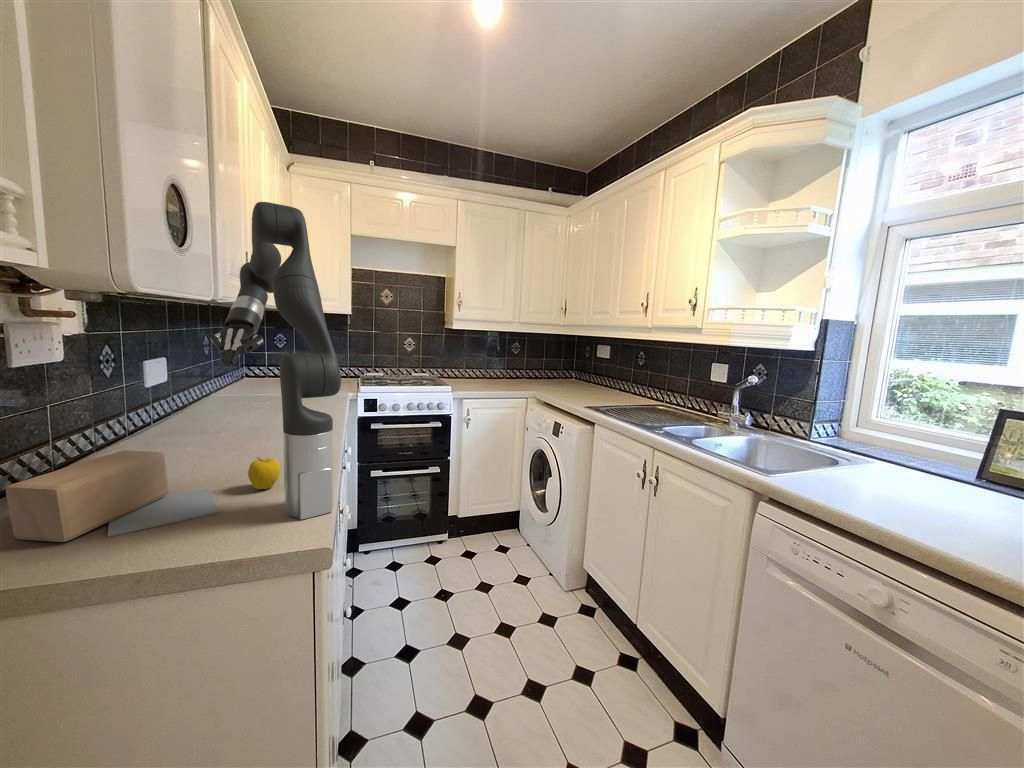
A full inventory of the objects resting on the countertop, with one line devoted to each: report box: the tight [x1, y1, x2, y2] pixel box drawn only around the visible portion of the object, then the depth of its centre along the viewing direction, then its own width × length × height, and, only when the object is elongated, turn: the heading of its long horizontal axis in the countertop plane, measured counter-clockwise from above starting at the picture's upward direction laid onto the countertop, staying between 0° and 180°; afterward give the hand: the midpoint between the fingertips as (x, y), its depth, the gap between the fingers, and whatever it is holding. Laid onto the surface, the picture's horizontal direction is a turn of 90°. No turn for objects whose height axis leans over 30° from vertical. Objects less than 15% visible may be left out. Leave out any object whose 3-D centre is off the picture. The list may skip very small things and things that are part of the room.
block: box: [5, 449, 169, 543], centre depth 78 cm, size 10×10×20 cm
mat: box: [107, 487, 219, 538], centre depth 83 cm, size 15×16×1 cm
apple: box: [247, 456, 281, 490], centre depth 95 cm, size 6×6×8 cm
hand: (227, 364), depth 102 cm, fingers closed
